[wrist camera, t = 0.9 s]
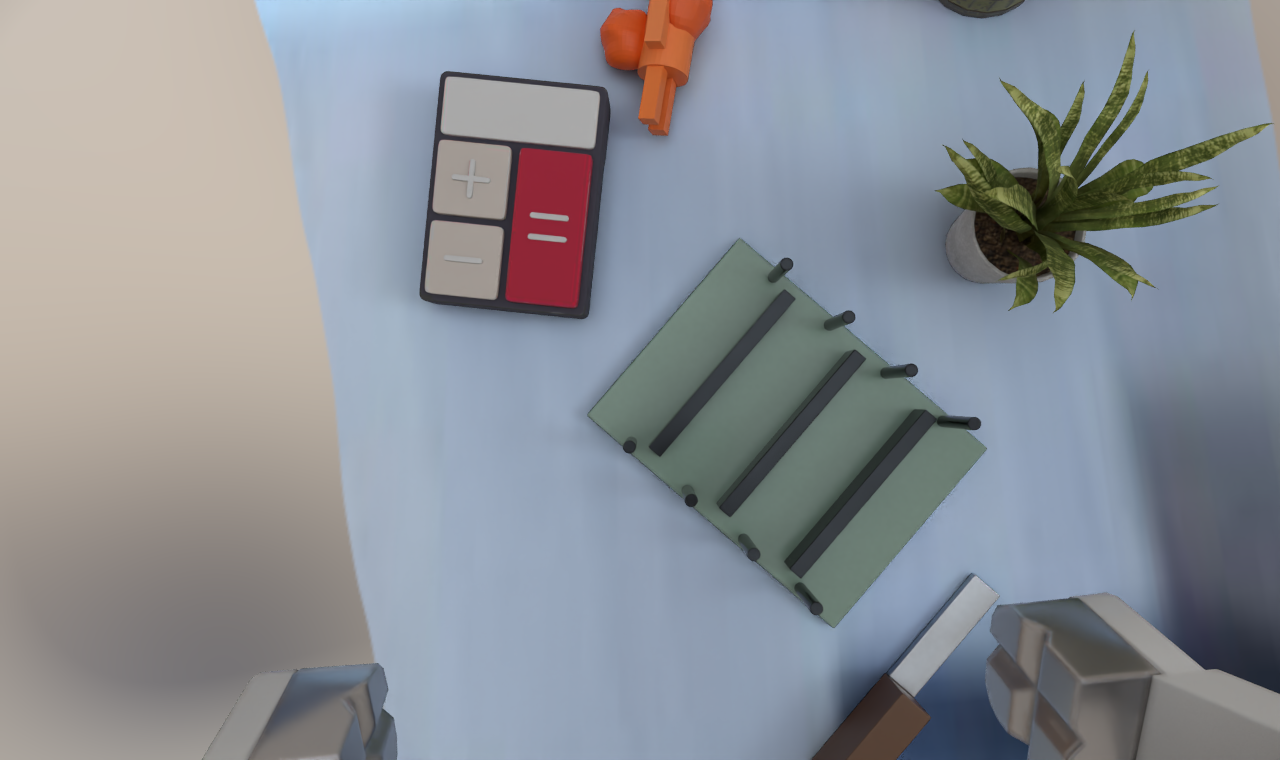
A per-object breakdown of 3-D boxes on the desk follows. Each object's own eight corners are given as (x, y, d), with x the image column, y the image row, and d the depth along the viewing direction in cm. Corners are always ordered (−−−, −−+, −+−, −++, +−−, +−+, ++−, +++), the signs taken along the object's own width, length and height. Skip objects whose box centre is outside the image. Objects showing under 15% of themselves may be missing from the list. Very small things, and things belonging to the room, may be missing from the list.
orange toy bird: (680, 112, 46) (712, -76, 46) (572, 109, 49) (602, -70, 49) (701, 143, 51) (730, -29, 51) (601, 139, 53) (629, -25, 54)
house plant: (1038, 95, 52) (1218, -46, 36) (1134, 271, 51) (1360, 211, 35) (856, 189, 52) (951, 92, 35) (950, 367, 51) (1091, 351, 35)
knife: (835, 785, 51) (849, 814, 47) (808, 761, 51) (820, 789, 47) (997, 594, 51) (1024, 609, 47) (970, 571, 51) (995, 584, 47)
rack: (982, 447, 51) (1025, 453, 45) (831, 625, 51) (854, 654, 45) (738, 239, 52) (749, 219, 46) (587, 414, 52) (579, 417, 46)
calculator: (414, 299, 48) (436, 64, 48) (433, 304, 52) (454, 89, 52) (583, 316, 48) (607, 82, 48) (589, 320, 52) (611, 105, 52)
